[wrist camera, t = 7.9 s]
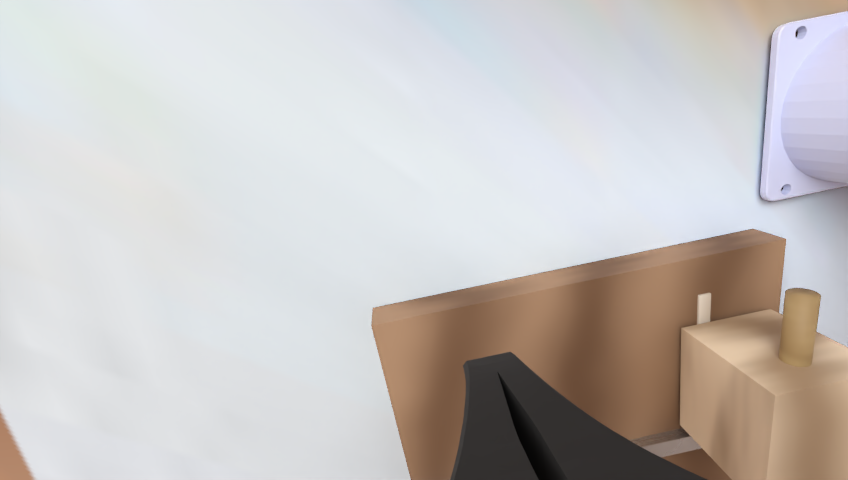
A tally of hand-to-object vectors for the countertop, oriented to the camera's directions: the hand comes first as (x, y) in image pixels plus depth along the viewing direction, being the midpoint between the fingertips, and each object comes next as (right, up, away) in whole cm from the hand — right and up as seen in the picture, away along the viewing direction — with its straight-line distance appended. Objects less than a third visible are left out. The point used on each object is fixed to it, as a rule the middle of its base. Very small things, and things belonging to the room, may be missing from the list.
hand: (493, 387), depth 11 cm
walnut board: (+7, -4, +12) cm, 14 cm away
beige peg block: (+13, -1, +9) cm, 16 cm away
